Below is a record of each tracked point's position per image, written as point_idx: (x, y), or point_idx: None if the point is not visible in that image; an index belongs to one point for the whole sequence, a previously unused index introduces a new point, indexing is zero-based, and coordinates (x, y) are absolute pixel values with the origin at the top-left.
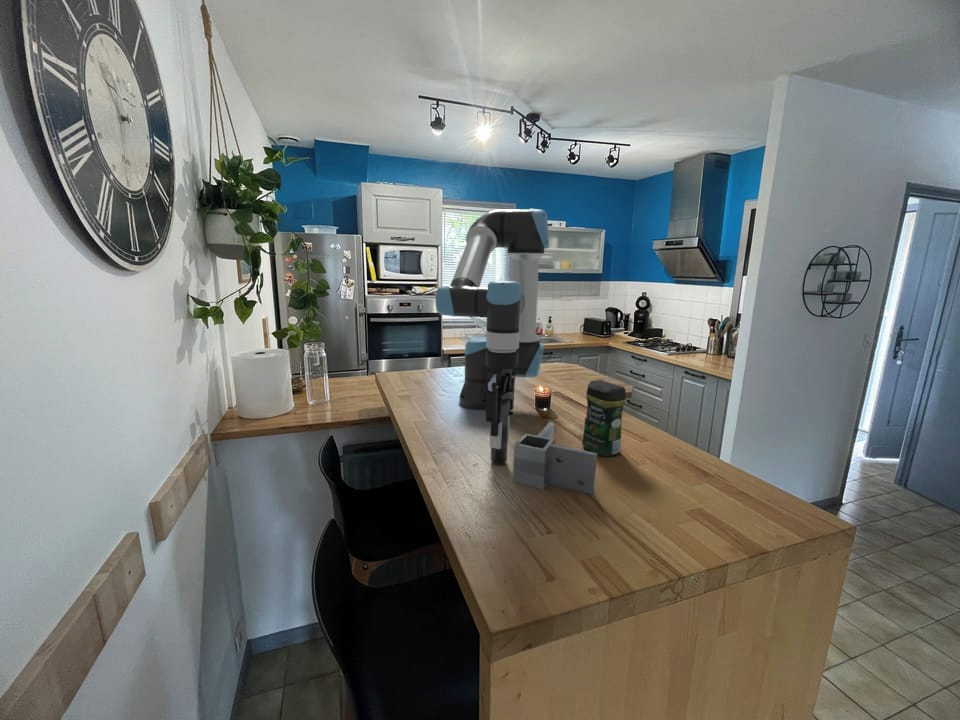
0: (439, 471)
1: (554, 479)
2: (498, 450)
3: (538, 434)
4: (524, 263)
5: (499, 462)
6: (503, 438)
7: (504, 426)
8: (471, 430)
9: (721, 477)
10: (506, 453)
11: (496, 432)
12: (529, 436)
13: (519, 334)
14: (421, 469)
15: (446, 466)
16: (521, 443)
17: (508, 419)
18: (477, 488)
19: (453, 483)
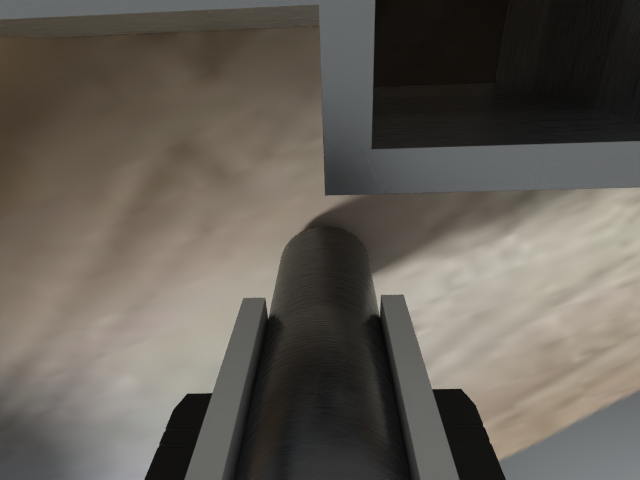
0: (512, 406)
1: None
2: (374, 297)
3: (254, 5)
4: None
5: (363, 249)
6: (365, 335)
7: (371, 429)
8: (107, 455)
9: None
10: (324, 250)
11: (470, 425)
12: (370, 114)
13: None
14: (517, 451)
15: None
16: (587, 134)
17: (217, 467)
18: (625, 235)
19: (599, 332)
